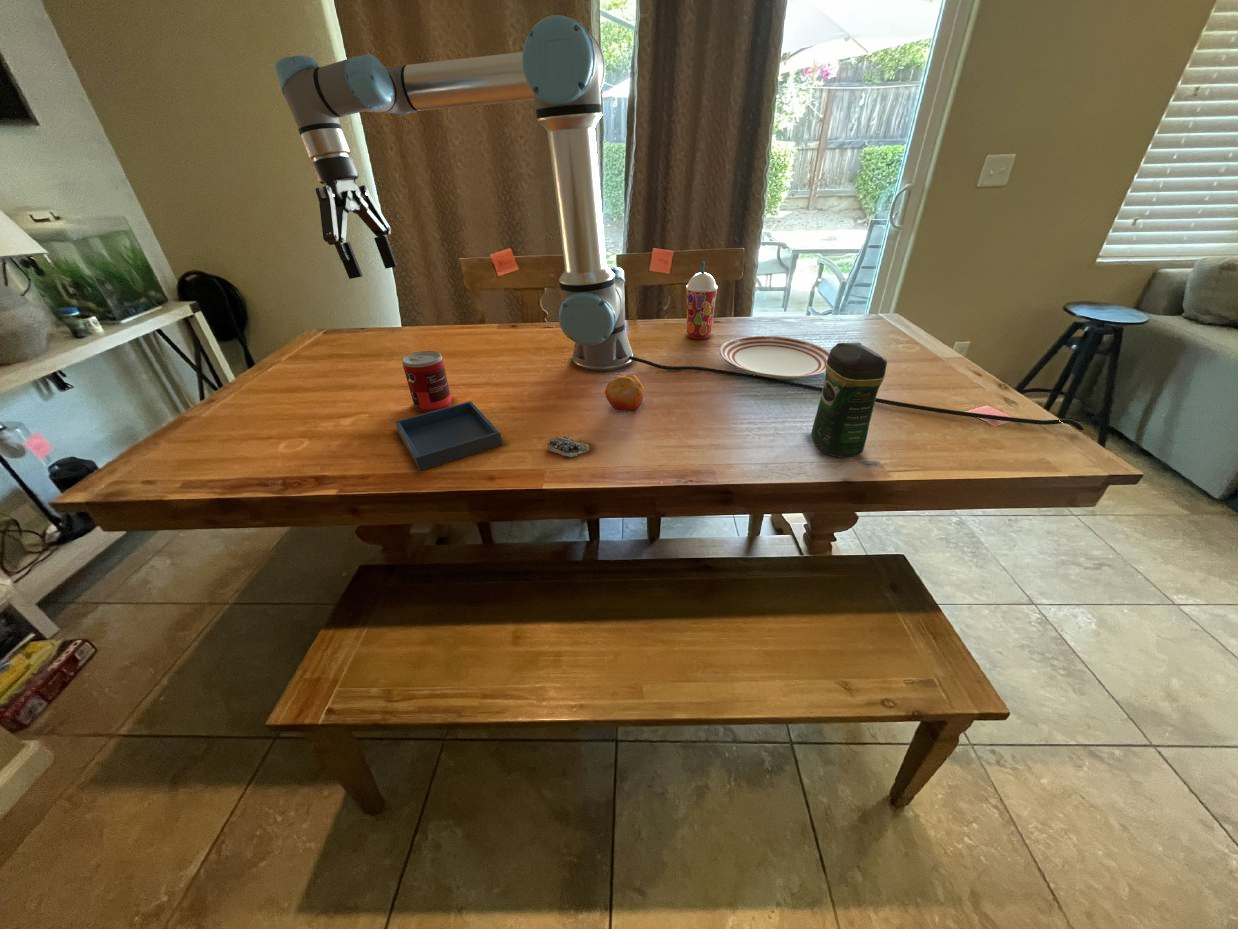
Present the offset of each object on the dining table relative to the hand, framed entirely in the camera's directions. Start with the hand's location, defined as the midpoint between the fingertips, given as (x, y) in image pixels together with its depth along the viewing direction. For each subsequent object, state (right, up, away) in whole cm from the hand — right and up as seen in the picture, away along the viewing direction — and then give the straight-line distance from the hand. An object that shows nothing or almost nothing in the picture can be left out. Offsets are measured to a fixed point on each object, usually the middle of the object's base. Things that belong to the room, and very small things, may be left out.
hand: (374, 272), depth 108 cm
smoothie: (+75, -5, +35) cm, 83 cm away
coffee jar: (+92, -38, -16) cm, 101 cm away
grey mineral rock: (+43, -38, -14) cm, 60 cm away
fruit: (+54, -29, -1) cm, 61 cm away
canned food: (+12, -28, +2) cm, 31 cm away
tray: (+20, -36, -11) cm, 43 cm away
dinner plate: (+91, -17, +16) cm, 94 cm away
